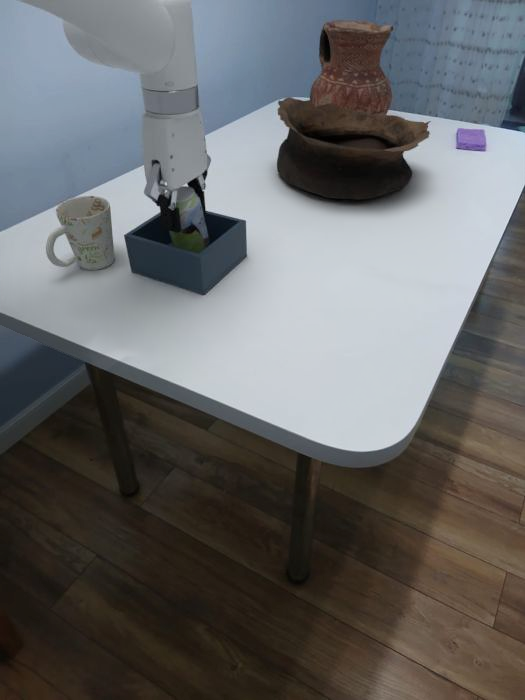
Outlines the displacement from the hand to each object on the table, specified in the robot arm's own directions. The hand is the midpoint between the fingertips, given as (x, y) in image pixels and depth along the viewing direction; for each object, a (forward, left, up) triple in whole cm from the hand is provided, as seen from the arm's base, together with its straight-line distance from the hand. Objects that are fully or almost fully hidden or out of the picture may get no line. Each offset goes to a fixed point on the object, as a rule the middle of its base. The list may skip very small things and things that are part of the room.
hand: (184, 220), depth 79 cm
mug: (-15, -9, -8) cm, 19 cm away
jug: (-3, +82, -8) cm, 83 cm away
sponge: (+30, +86, -8) cm, 92 cm away
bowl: (+10, +47, -8) cm, 49 cm away
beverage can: (0, 0, -7) cm, 7 cm away
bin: (0, 0, -8) cm, 8 cm away
